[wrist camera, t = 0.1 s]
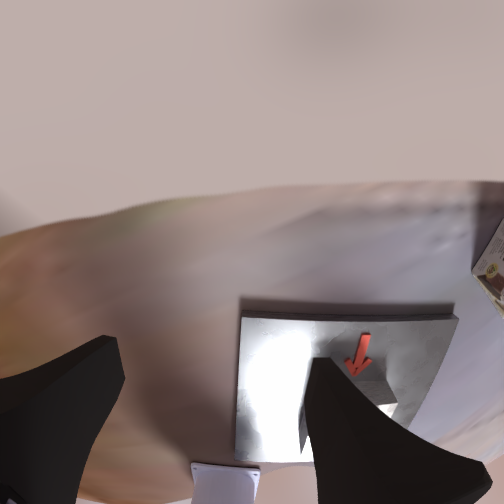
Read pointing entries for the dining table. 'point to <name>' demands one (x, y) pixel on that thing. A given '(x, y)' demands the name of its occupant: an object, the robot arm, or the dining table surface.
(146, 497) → the dining table surface
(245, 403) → the stand base
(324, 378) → the robot arm
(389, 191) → the dining table surface
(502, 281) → the coffee box
